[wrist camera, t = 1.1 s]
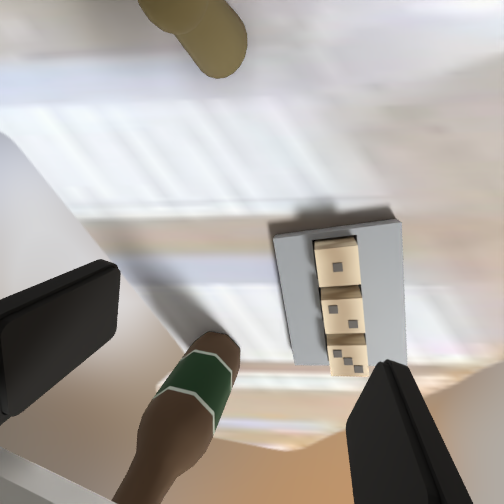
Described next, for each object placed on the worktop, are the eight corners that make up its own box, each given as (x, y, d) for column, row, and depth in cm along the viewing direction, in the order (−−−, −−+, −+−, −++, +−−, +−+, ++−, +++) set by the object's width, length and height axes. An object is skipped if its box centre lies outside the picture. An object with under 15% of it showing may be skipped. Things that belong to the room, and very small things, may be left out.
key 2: (357, 283, 29) (362, 298, 26) (360, 314, 30) (365, 333, 27) (320, 286, 30) (321, 301, 27) (324, 316, 31) (325, 334, 28)
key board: (395, 218, 28) (401, 222, 26) (402, 354, 32) (407, 366, 30) (275, 234, 31) (272, 238, 29) (296, 354, 36) (294, 365, 34)
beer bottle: (231, 382, 40) (121, 651, 18) (187, 356, 40) (27, 586, 18) (251, 346, 37) (151, 615, 15) (204, 320, 38) (38, 540, 15)
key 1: (353, 236, 28) (358, 245, 24) (356, 270, 29) (361, 284, 25) (314, 240, 29) (314, 250, 26) (319, 274, 30) (319, 287, 27)
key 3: (361, 326, 31) (366, 345, 27) (363, 354, 32) (369, 377, 28) (326, 327, 32) (327, 346, 28) (329, 354, 33) (331, 376, 29)
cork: (228, -8, 25) (167, -128, 15) (257, 54, 26) (219, -19, 16) (181, 35, 27) (99, -45, 17) (210, 91, 28) (148, 47, 18)
